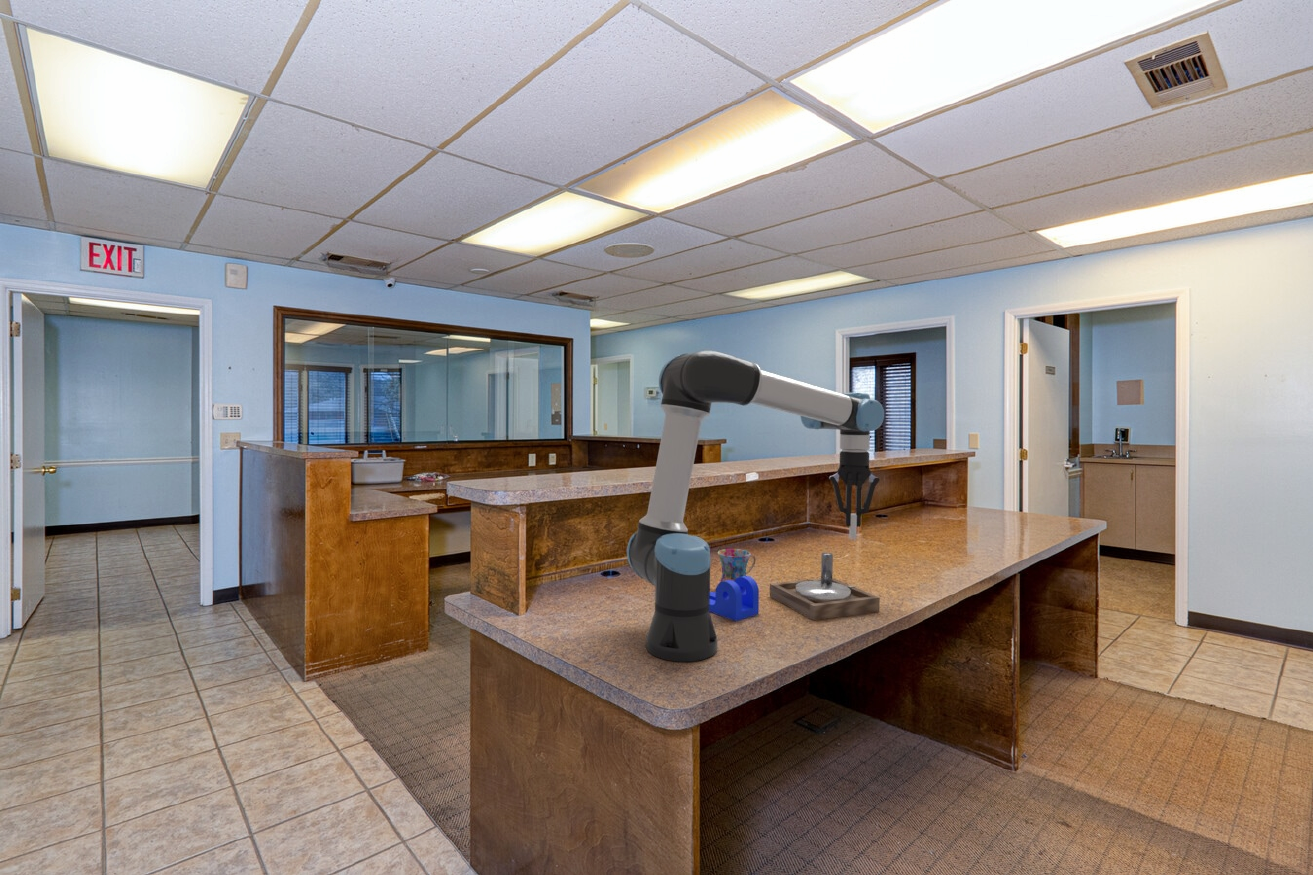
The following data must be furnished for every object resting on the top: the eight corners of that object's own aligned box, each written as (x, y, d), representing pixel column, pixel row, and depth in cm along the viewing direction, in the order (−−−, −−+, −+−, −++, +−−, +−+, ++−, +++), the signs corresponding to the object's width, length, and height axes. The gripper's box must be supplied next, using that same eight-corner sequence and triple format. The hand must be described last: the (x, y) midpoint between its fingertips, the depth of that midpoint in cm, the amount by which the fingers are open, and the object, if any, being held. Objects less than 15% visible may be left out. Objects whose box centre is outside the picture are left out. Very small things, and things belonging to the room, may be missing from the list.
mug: (729, 596, 166) (729, 557, 165) (710, 587, 174) (711, 550, 174) (764, 590, 172) (765, 553, 171) (745, 582, 180) (745, 546, 179)
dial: (846, 607, 151) (847, 567, 151) (790, 599, 157) (790, 560, 157) (853, 592, 164) (854, 555, 163) (801, 585, 170) (802, 549, 169)
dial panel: (813, 620, 148) (813, 605, 147) (769, 596, 166) (769, 582, 166) (879, 611, 155) (879, 596, 155) (830, 589, 173) (830, 576, 173)
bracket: (758, 614, 152) (759, 578, 152) (736, 621, 147) (736, 585, 146) (707, 597, 166) (707, 564, 165) (685, 603, 160) (685, 569, 160)
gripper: (877, 450, 164) (875, 536, 165) (827, 449, 167) (826, 534, 168) (882, 452, 157) (880, 542, 158) (830, 451, 159) (828, 540, 160)
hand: (852, 538), depth 163 cm, fingers closed
